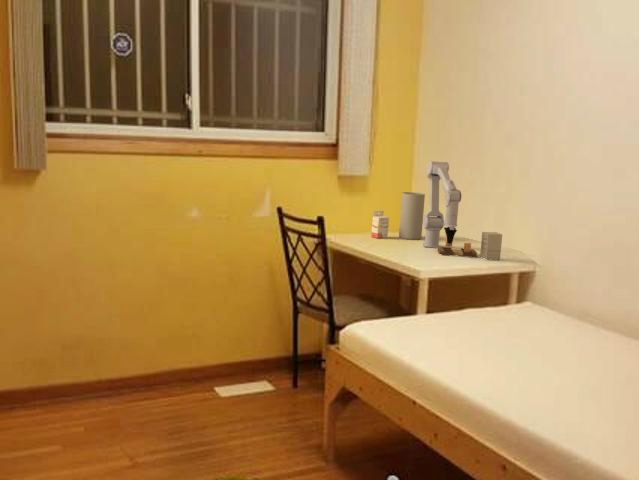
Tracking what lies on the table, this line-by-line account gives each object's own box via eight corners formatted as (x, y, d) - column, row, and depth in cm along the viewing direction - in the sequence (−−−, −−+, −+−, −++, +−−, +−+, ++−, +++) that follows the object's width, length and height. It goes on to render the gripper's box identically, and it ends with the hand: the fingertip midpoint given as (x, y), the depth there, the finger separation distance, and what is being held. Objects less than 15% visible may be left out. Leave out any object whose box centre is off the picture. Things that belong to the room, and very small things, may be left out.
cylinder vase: (417, 236, 385) (421, 192, 381) (424, 240, 372) (427, 195, 368) (396, 235, 383) (399, 191, 379) (402, 239, 371) (405, 194, 367)
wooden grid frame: (437, 250, 340) (437, 246, 340) (473, 253, 339) (473, 249, 339) (439, 254, 328) (439, 250, 328) (476, 257, 327) (477, 253, 327)
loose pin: (445, 245, 332) (446, 233, 331) (451, 245, 332) (452, 233, 331) (445, 246, 329) (446, 234, 328) (452, 246, 329) (453, 234, 328)
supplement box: (493, 257, 330) (496, 231, 328) (500, 260, 323) (502, 234, 321) (479, 257, 329) (481, 231, 327) (485, 260, 321) (488, 233, 319)
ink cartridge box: (377, 238, 368) (379, 212, 366) (370, 237, 372) (372, 210, 370) (388, 237, 374) (390, 211, 372) (381, 236, 378) (383, 210, 375)
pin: (462, 254, 332) (464, 242, 331) (469, 255, 332) (470, 243, 331) (463, 256, 329) (464, 243, 328) (470, 256, 329) (471, 244, 328)
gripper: (441, 212, 335) (439, 239, 338) (444, 216, 321) (442, 244, 323) (456, 213, 335) (453, 240, 337) (459, 217, 321) (457, 245, 323)
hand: (449, 242), depth 330 cm, fingers closed on loose pin, 3 cm apart
